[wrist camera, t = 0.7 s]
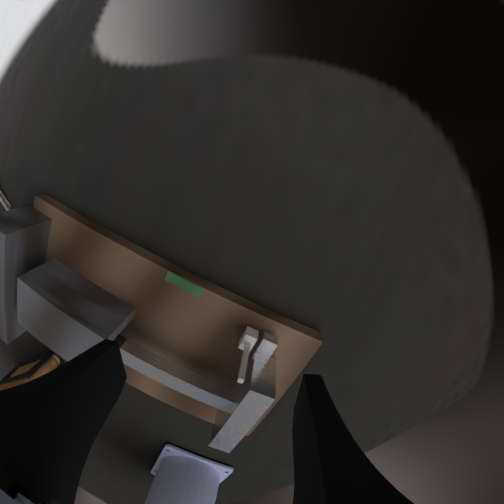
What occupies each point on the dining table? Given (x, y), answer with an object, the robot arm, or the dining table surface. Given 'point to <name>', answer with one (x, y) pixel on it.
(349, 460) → the robot arm
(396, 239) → the dining table surface
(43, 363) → the ammunition clip
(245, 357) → the rod
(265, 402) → the grey angular piece
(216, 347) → the frame
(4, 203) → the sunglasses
